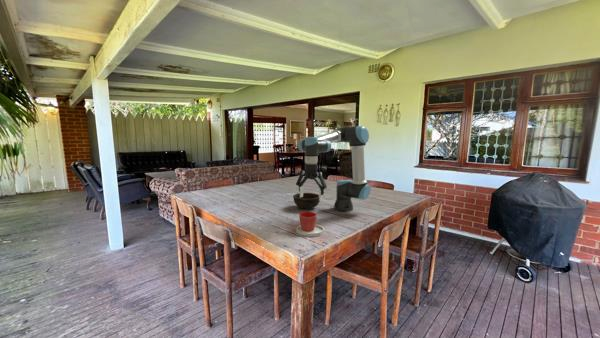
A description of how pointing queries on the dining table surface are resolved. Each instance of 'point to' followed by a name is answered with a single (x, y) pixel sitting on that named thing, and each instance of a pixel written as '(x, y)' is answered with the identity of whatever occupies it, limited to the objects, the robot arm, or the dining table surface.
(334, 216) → the dining table surface
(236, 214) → the dining table surface
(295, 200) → the bowl
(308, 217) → the flower pot
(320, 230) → the saucer
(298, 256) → the dining table surface
